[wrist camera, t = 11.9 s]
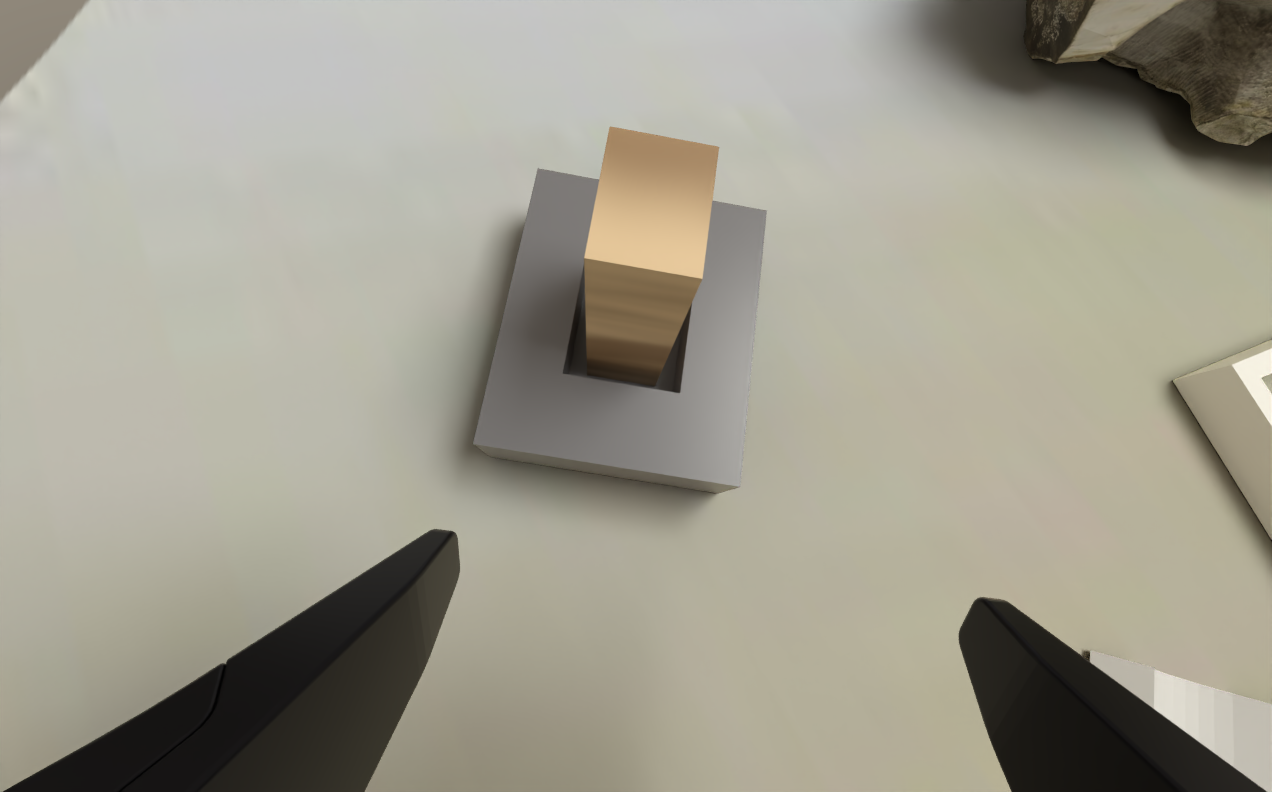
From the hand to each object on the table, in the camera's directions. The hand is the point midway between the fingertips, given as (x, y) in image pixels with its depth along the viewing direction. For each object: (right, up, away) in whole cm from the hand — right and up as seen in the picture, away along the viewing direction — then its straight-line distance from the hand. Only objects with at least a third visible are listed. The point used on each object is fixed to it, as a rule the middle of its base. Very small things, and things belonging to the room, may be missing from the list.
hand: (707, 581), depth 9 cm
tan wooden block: (-2, +6, +14) cm, 15 cm away
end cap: (-2, +6, +15) cm, 16 cm away
